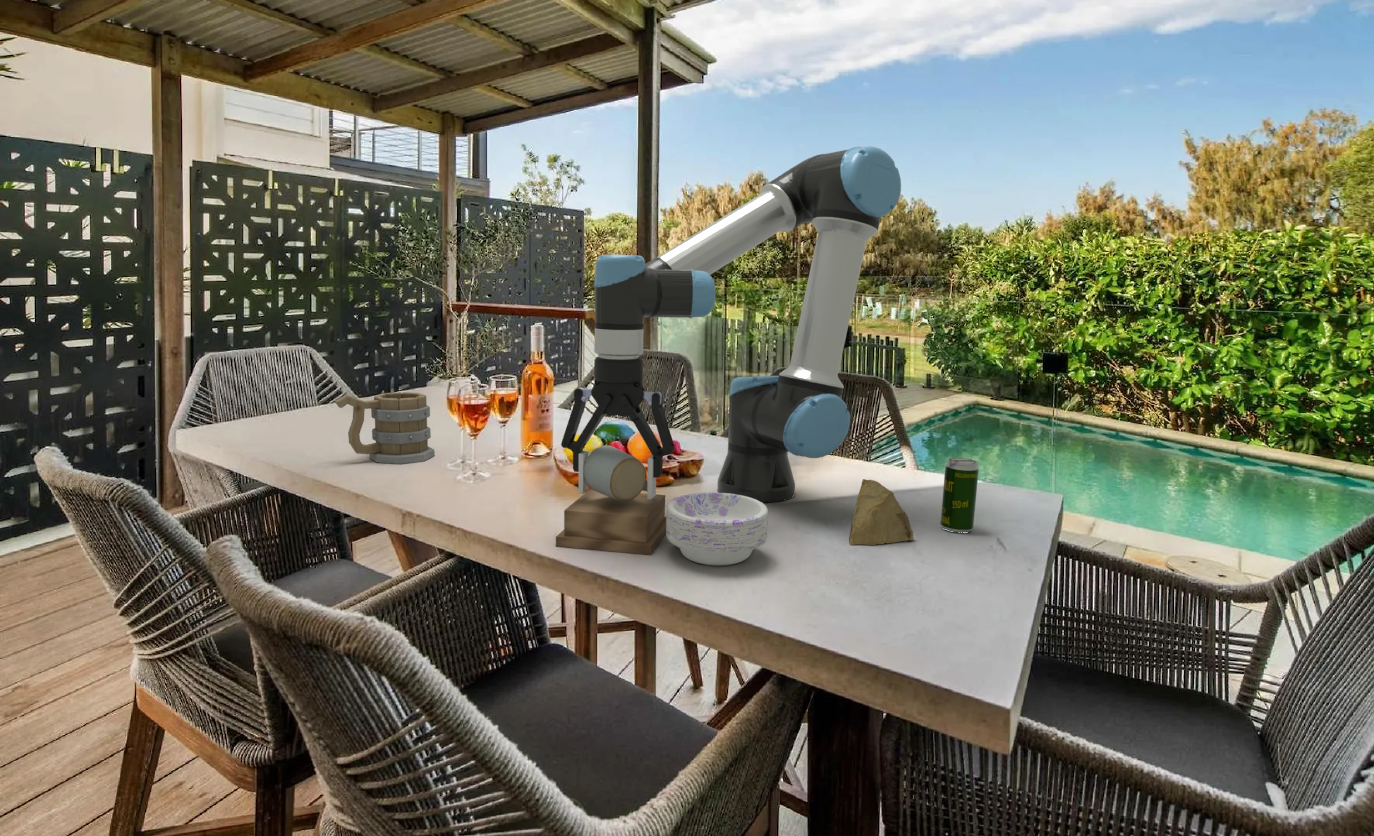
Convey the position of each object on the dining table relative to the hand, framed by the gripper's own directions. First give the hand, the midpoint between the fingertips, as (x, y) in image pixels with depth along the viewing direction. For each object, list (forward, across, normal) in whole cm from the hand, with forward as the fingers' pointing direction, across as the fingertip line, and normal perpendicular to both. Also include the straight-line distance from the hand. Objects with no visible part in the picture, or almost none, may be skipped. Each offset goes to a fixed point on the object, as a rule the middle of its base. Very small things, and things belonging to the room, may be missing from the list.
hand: (617, 494), depth 129 cm
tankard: (+7, +63, -37) cm, 73 cm away
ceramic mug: (0, -1, -1) cm, 1 cm away
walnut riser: (+7, 0, 0) cm, 7 cm away
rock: (+7, -42, -9) cm, 43 cm away
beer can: (+7, -55, -19) cm, 59 cm away
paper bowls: (+7, -17, +5) cm, 19 cm away
